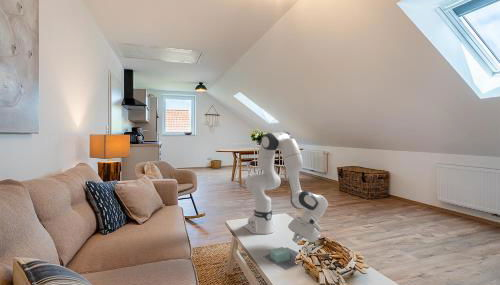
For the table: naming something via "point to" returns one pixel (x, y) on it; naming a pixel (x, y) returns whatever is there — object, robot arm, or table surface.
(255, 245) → the table surface
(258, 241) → the table surface
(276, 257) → the box
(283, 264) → the mat
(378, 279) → the table surface
